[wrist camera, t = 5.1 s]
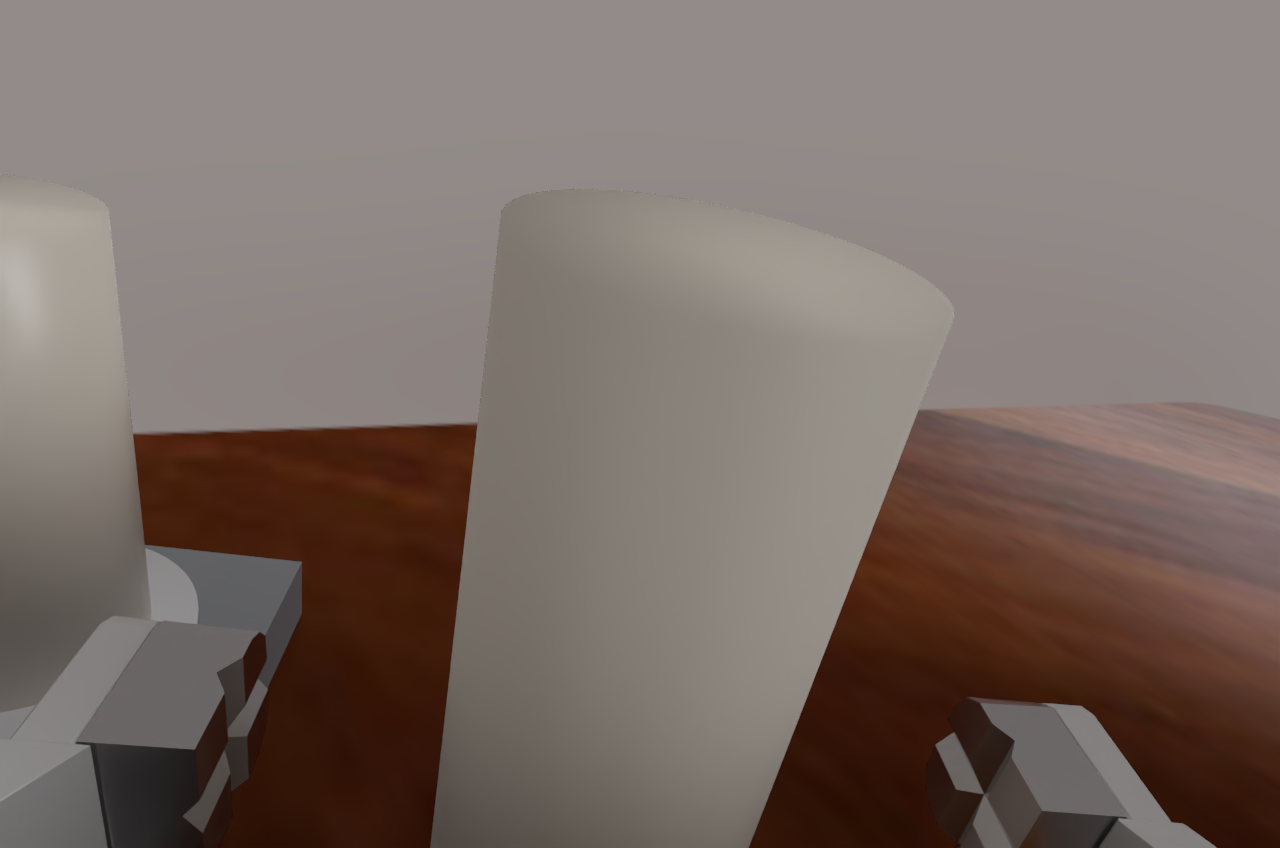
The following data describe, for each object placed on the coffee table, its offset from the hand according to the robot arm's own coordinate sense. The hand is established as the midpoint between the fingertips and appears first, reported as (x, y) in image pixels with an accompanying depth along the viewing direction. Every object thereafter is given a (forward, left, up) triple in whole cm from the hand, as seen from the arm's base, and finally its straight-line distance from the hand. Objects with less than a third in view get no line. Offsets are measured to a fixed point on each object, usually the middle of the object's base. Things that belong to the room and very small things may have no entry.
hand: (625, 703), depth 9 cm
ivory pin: (0, 0, -7) cm, 7 cm away
